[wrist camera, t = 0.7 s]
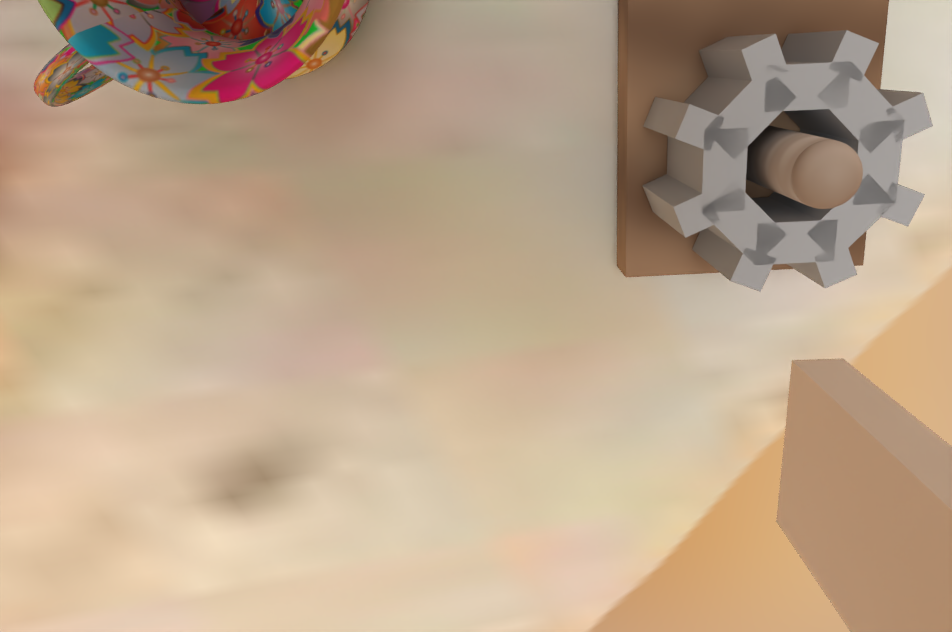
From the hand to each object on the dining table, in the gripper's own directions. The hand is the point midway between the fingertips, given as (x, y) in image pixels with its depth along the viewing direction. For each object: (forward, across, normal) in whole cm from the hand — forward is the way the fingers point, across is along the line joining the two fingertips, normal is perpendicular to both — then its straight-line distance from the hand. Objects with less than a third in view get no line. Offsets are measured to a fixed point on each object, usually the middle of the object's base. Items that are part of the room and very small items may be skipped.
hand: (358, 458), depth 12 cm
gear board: (+24, +13, +6) cm, 28 cm away
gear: (+22, +13, +2) cm, 26 cm away
